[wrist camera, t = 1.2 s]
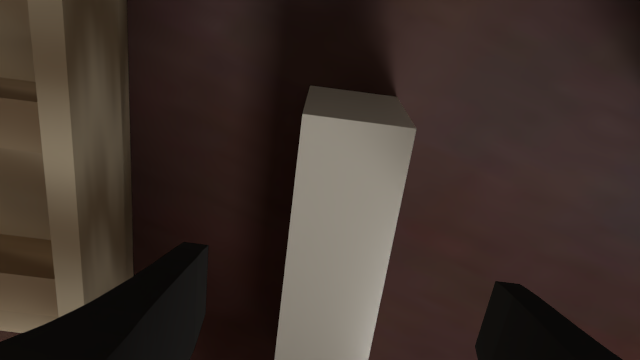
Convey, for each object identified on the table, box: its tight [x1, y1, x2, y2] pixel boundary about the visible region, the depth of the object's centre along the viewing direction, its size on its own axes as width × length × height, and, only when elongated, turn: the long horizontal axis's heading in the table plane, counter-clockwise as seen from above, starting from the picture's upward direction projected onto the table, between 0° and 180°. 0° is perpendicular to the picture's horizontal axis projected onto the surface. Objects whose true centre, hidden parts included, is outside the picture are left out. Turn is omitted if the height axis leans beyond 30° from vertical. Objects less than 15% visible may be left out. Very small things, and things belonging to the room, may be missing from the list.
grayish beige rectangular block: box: [274, 86, 416, 360], centre depth 19 cm, size 13×4×5 cm, turn 173°
